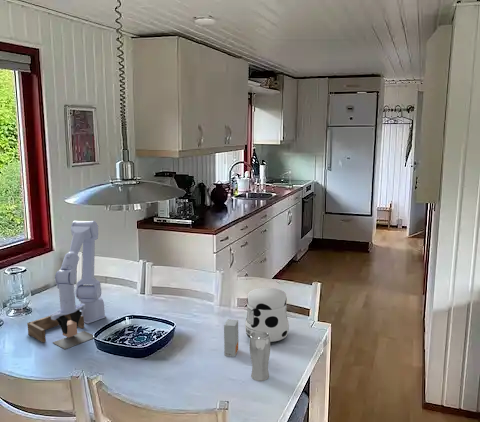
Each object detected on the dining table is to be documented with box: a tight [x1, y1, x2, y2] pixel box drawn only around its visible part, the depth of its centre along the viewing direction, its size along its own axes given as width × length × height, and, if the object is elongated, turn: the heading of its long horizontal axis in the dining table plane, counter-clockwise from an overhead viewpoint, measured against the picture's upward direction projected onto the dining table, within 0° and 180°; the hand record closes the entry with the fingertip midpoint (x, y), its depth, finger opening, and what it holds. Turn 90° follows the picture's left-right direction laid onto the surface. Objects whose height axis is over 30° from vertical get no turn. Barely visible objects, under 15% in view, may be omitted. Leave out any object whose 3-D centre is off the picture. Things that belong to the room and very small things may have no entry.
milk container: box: [244, 287, 290, 344], centre depth 193 cm, size 17×17×18 cm
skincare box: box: [223, 318, 239, 358], centre depth 181 cm, size 6×4×12 cm
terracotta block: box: [62, 320, 78, 338], centre depth 196 cm, size 4×4×5 cm
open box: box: [26, 314, 94, 350], centre depth 199 cm, size 18×24×5 cm
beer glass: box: [249, 331, 271, 382], centre depth 163 cm, size 7×7×15 cm
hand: (69, 331), depth 196 cm, fingers closed on terracotta block, 4 cm apart
